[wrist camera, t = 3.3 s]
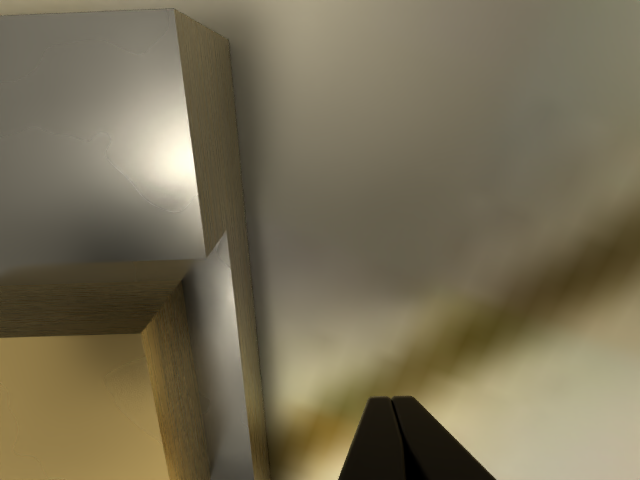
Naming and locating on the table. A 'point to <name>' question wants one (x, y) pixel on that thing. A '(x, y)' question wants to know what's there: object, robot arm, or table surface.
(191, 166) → the slotted plate
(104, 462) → the brass chip
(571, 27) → the table surface
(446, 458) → the robot arm
